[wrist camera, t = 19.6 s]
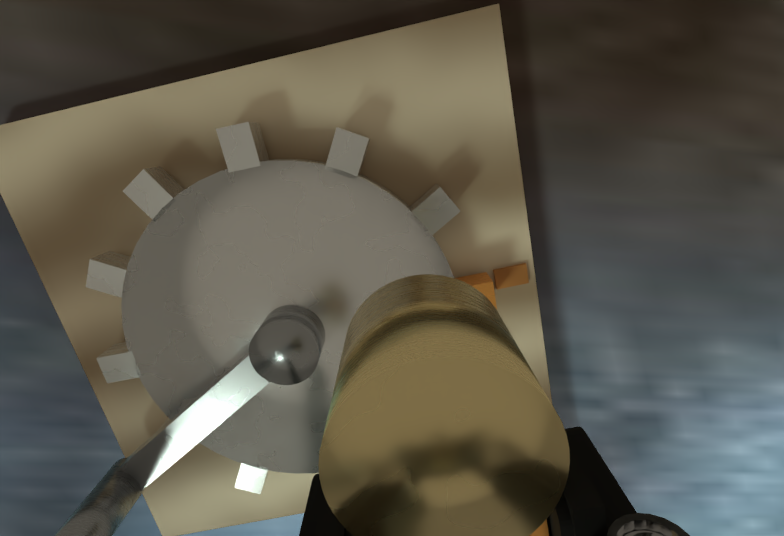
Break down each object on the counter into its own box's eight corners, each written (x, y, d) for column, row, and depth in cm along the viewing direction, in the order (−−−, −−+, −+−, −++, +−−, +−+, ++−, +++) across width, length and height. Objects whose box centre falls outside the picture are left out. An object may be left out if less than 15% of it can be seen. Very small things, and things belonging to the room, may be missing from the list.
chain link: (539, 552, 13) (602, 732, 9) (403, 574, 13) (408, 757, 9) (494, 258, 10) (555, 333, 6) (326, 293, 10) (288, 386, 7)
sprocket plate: (551, 448, 27) (561, 469, 25) (174, 517, 28) (161, 541, 27) (491, 12, 20) (500, 2, 18) (-1, 132, 21) (-33, 132, 20)
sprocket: (552, 200, 21) (622, 229, 14) (406, 535, 26) (411, 659, 20) (139, 58, 19) (16, 21, 13) (78, 451, 25) (-27, 558, 18)
